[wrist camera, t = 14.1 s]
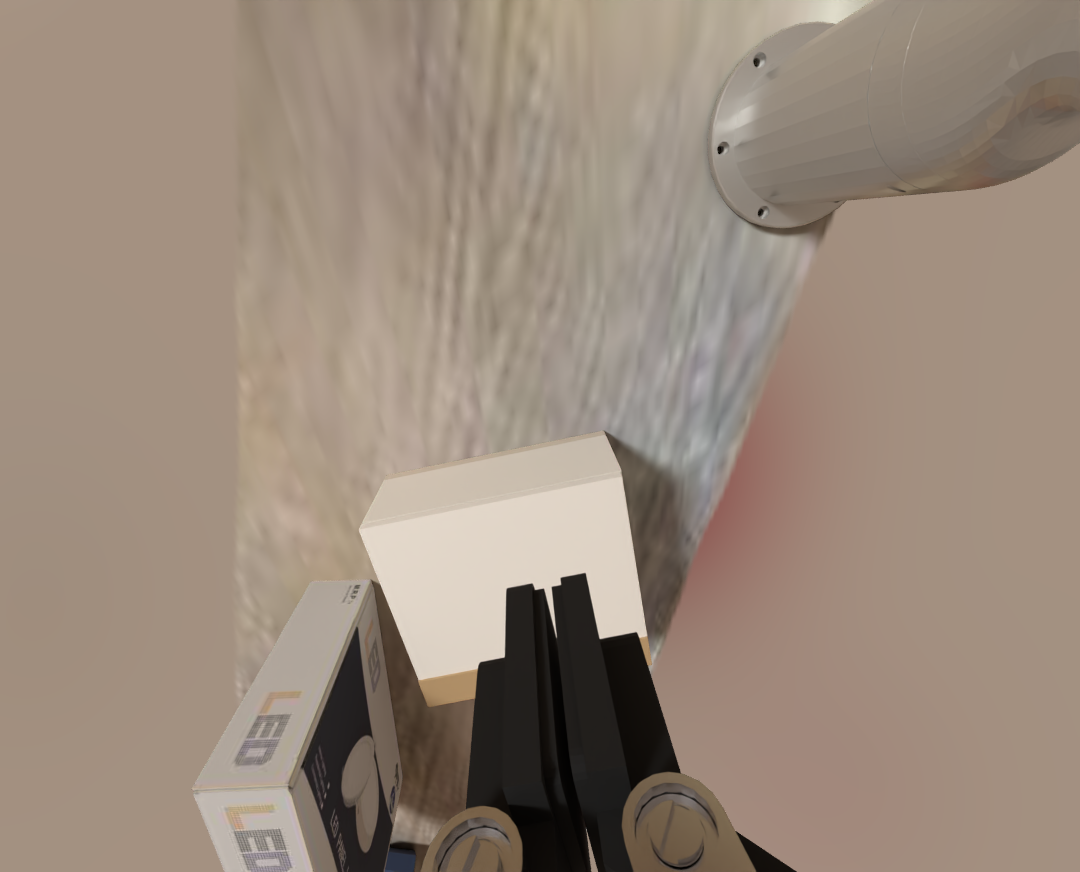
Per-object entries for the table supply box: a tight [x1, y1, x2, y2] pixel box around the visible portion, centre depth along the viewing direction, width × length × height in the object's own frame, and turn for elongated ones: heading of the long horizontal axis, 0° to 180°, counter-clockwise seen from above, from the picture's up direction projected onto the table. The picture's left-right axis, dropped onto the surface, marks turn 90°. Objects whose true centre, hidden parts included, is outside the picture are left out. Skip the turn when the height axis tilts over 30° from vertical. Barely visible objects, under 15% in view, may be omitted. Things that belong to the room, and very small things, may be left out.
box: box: [362, 430, 647, 632], centre depth 45 cm, size 20×18×8 cm
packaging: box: [192, 579, 403, 872], centre depth 46 cm, size 30×6×20 cm, turn 0°
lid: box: [359, 472, 652, 707], centre depth 40 cm, size 20×18×1 cm
